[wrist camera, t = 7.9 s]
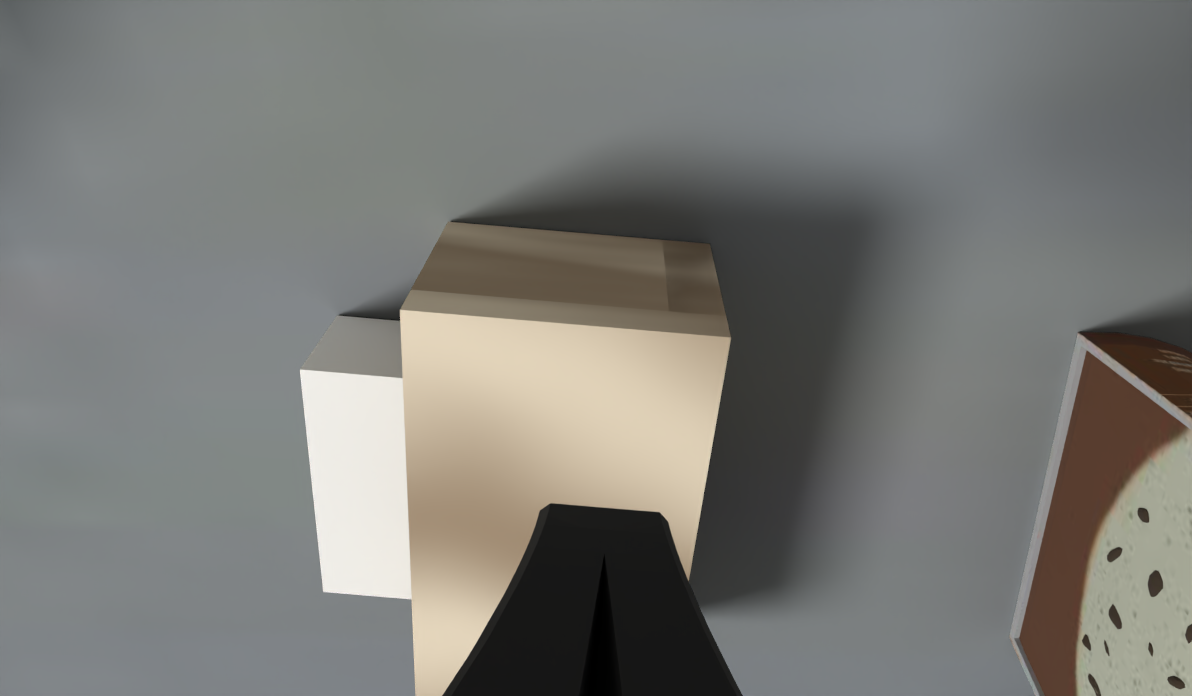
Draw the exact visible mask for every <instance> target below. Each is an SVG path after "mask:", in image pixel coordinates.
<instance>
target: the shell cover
mask: <svg viewBox="0 0 1192 696" xmlns="http://www.w3.org/2000/svg"><path fill="white" fill-rule="evenodd" d="M300 375H301V385H302V394H303V404H304V413H305V422H306V432H307V441H308V451H309V460H310V470H311V479H312V489H313V498H314V508H315V517H316V526H317V536H318V545H319V555H320V564H321V574H322V583H323V592H331V593H343V594H355V595H367V596H379V597H391V598H403V599H412V595H411V570H410V546H409V521H408V497H407V472H406V448H405V424H404V399H403V375H402V350H401V326H400V321H395V320H383V319H371V318H360V317H348V316H336V318H335V319H334V321H333V322H332V324H331V325H330V326H329V328H328V329H327V331H326V332H325V334H324V335H323V337H322V338H321V340H320V341H319V342H318V344H317V345H316V347H315V348H314V350H313V351H312V353H311V354H310V355H309V357H308V358H307V360H306V361H305V363H304V364H303V366H302V367H301V369H300Z"/></svg>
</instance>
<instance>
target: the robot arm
mask: <svg viewBox="0 0 1192 696" xmlns="http://www.w3.org/2000/svg"><path fill="white" fill-rule="evenodd" d="M442 696H743V695H742V694H741V692H740V690H739V688H738V686H737V684H736V682H735V680H734V678H733V676H732V674H731V672H730V670H729V668H728V666H727V664H726V662H725V660H724V658H723V656H722V654H721V652H720V650H719V648H718V646H717V644H716V642H715V640H714V638H713V636H712V634H711V632H710V630H709V627H708V625H707V623H706V621H705V619H704V616H703V614H702V612H701V610H700V607H699V605H698V603H697V600H696V598H695V596H694V593H693V591H692V588H691V586H690V584H689V581H688V579H687V576H686V574H685V571H684V569H683V566H682V563H681V561H680V558H679V555H678V552H677V550H676V546H675V543H674V540H673V537H672V534H671V531H670V527H669V523H668V521H667V520H666V519H665V517H664V516H663V515H662V514H661V513H660V512H652V511H639V510H627V509H615V508H603V507H591V506H579V505H567V504H555V503H550V504H549V505H547V506H546V507H544V508H543V509H541V510H540V512H539V515H538V519H537V522H536V525H535V528H534V531H533V533H532V536H531V539H530V541H529V544H528V546H527V548H526V551H525V553H524V555H523V557H522V559H521V561H520V564H519V566H518V568H517V570H516V572H515V574H514V576H513V578H512V580H511V582H510V584H509V586H508V588H507V590H506V591H505V593H504V595H503V597H502V599H501V600H500V602H499V604H498V606H497V607H496V609H495V611H494V613H493V614H492V616H491V618H490V620H489V621H488V623H487V625H486V627H485V628H484V630H483V632H482V634H481V635H480V637H479V639H478V641H477V642H476V644H475V646H474V647H473V649H472V651H471V652H470V654H469V656H468V657H467V659H466V660H465V662H464V663H463V665H462V666H461V668H460V669H459V671H458V672H457V674H456V675H455V677H454V678H453V680H452V682H451V683H450V685H449V686H448V688H447V689H446V691H445V692H444V694H443V695H442Z"/></svg>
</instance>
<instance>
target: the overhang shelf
mask: <svg viewBox="0 0 1192 696" xmlns="http://www.w3.org/2000/svg"><path fill="white" fill-rule="evenodd" d="M400 326H401V350H402V375H403V399H404V424H405V448H406V472H407V497H408V521H409V546H410V570H411V595H412V619H413V644H414V668H415V693H416V696H442V695H443V694H444V692H445V691H446V689H447V688H448V686H449V685H450V683H451V682H452V680H453V678H454V677H455V675H456V674H457V672H458V671H459V669H460V668H461V666H462V665H463V663H464V662H465V660H466V659H467V657H468V656H469V654H470V652H471V651H472V649H473V647H474V646H475V644H476V642H477V641H478V639H479V637H480V635H481V634H482V632H483V630H484V628H485V627H486V625H487V623H488V621H489V620H490V618H491V616H492V614H493V613H494V611H495V609H496V607H497V606H498V604H499V602H500V600H501V599H502V597H503V595H504V593H505V591H506V590H507V588H508V586H509V584H510V582H511V580H512V578H513V576H514V574H515V572H516V570H517V568H518V566H519V564H520V561H521V559H522V557H523V555H524V553H525V551H526V548H527V546H528V544H529V541H530V539H531V536H532V533H533V531H534V528H535V525H536V522H537V519H538V515H539V512H540V510H541V509H543V508H544V507H546V506H547V505H549V504H550V503H555V504H567V505H579V506H591V507H603V508H615V509H627V510H639V511H652V512H660V513H661V514H662V515H663V516H664V517H665V519H666V520H667V521H668V523H669V527H670V531H671V534H672V537H673V540H674V543H675V546H676V550H677V552H678V555H679V558H680V561H681V563H682V566H683V569H684V571H685V574H686V576H687V579H688V581H689V576H690V571H691V565H692V559H693V553H694V548H695V542H696V536H697V530H698V525H699V519H700V513H701V507H702V502H703V496H704V490H705V485H706V479H707V473H708V467H709V462H710V456H711V450H712V444H713V439H714V433H715V427H716V421H717V416H718V410H719V404H720V398H721V393H722V387H723V381H724V375H725V370H726V364H727V358H728V352H729V347H730V341H731V335H730V331H729V326H728V322H727V317H726V313H725V309H724V304H723V300H722V295H721V291H720V287H719V282H718V278H717V273H716V269H715V265H714V260H713V256H712V252H711V247H710V244H705V243H693V242H681V241H670V240H658V239H646V238H634V237H622V236H610V235H599V234H587V233H575V232H563V231H551V230H539V229H528V228H516V227H504V226H492V225H480V224H468V223H456V222H448V223H447V225H446V227H445V228H444V230H443V232H442V234H441V236H440V238H439V239H438V241H437V243H436V245H435V247H434V248H433V250H432V252H431V254H430V256H429V258H428V259H427V261H426V263H425V265H424V267H423V269H422V270H421V272H420V274H419V276H418V278H417V279H416V281H415V283H414V285H413V287H412V289H411V290H410V292H409V294H408V296H407V298H406V300H405V301H404V303H403V305H402V307H401V309H400Z"/></svg>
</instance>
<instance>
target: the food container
mask: <svg viewBox="0 0 1192 696" xmlns="http://www.w3.org/2000/svg"><path fill="white" fill-rule="evenodd" d="M1009 638H1010V640H1011V642H1012V644H1013V647H1014V649H1015V651H1016V653H1017V656H1018V658H1019V660H1020V662H1021V665H1022V667H1023V669H1024V671H1025V674H1026V676H1027V678H1028V680H1029V683H1030V685H1031V687H1032V689H1033V692H1034V694H1035V696H1192V353H1191V352H1189V351H1187V350H1185V349H1183V348H1181V347H1178V346H1175V345H1172V344H1169V343H1165V342H1162V341H1159V340H1156V339H1153V338H1148V337H1142V336H1135V335H1129V334H1123V333H1102V332H1078V334H1077V339H1076V343H1075V348H1074V352H1073V357H1072V361H1071V365H1070V370H1069V374H1068V379H1067V383H1066V388H1065V392H1064V396H1063V401H1062V405H1061V410H1060V414H1059V419H1058V423H1057V427H1056V432H1055V436H1054V441H1053V445H1052V450H1051V454H1050V458H1049V463H1048V467H1047V472H1046V476H1045V481H1044V485H1043V489H1042V494H1041V498H1040V503H1039V507H1038V512H1037V516H1036V520H1035V525H1034V529H1033V534H1032V538H1031V543H1030V547H1029V551H1028V556H1027V560H1026V565H1025V569H1024V574H1023V578H1022V582H1021V587H1020V591H1019V596H1018V600H1017V605H1016V609H1015V613H1014V618H1013V622H1012V627H1011V631H1010V636H1009Z"/></svg>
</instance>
